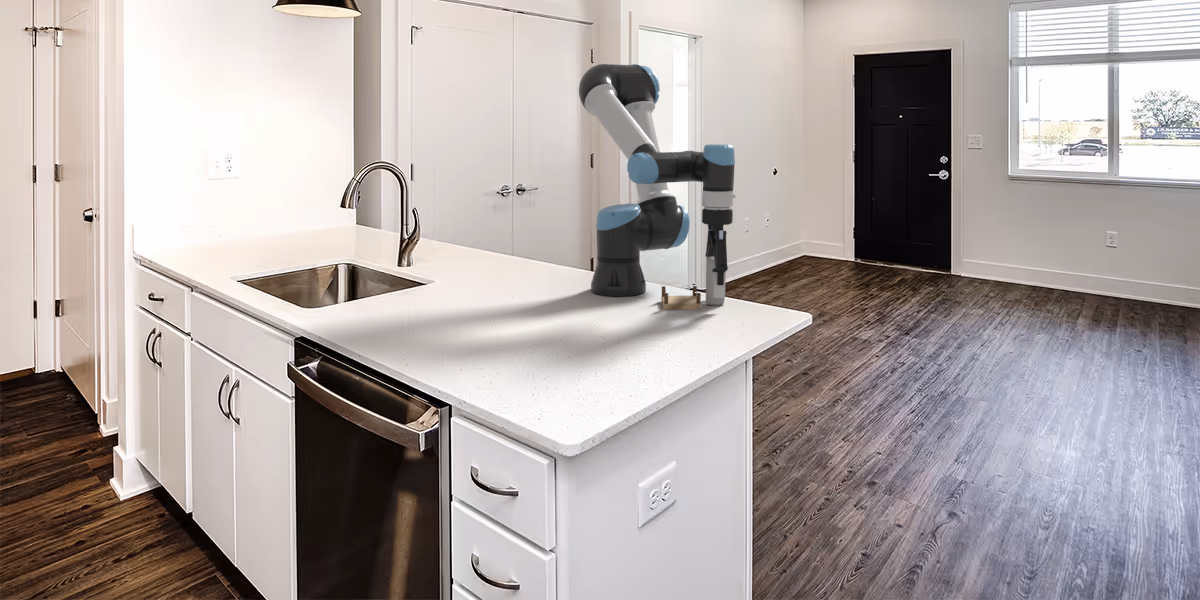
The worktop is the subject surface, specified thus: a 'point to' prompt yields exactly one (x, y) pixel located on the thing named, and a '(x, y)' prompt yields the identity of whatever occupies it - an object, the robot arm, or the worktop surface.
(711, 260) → the beverage can
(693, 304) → the stand
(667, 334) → the worktop surface
